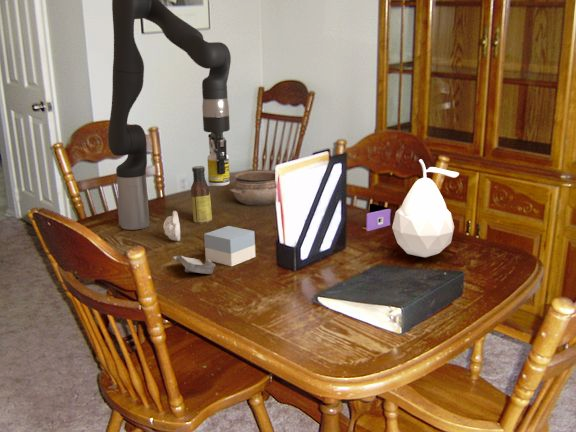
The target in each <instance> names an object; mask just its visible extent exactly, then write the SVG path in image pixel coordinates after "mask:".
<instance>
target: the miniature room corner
mask: <svg viewBox="0 0 576 432" xmlns="http://www.w3.org/2000/svg"><path fill="white" fill-rule="evenodd" d="M368 209H369V210H368V211H369V212H368V213H366V223H365V224H366V225H365V226H366V227H362V229H363V230H366V232H369V231H370V232H371V231H374V230H378V229H381V228H385V227H388V226H391V225H392V208H390V207H386V206H383V205H380V204H375V203H370V204H369V207H368Z"/></svg>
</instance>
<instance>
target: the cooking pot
mask: <svg viewBox="0 0 576 432" xmlns="http://www.w3.org/2000/svg"><path fill="white" fill-rule="evenodd" d="M234 177H235V178H236V179H235V181H234V185H233V188H229V190H228V191H229V192H232V193H233V195H234V197H235V199H236V200H237V202H239V203H241V204H242V205H246V206H253V207H254V206H255V207H263V206H270V205H274V204H276V203H275V170H249V171H241V172H238V173H236V174H235V175H234Z"/></svg>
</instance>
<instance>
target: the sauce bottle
mask: <svg viewBox="0 0 576 432" xmlns="http://www.w3.org/2000/svg"><path fill="white" fill-rule="evenodd" d="M191 171H192V175H193V176H192V177H193V179H192V180H193V182H192V185H191V187H190V192H191V205H192V207H191V208H192V216H193V217H192V218H193V222H194V223H195V224H198V225H201V224H209V223H211V222H212V221H213V214H212V213H213V212H212V203H211V201H212V200H211V190H210V187H209V184H208V183H207V179H206V176H205V171H206V170H205V166H203V165H196V166H192V167H191Z"/></svg>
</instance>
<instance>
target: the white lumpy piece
mask: <svg viewBox="0 0 576 432" xmlns="http://www.w3.org/2000/svg"><path fill="white" fill-rule="evenodd" d="M163 230H164V235H165V236H167V237H168V238H169V239H170V240H171V241H175V242H180V241H181V224H180V220H179V214H178V211H177V210H172V215H170V216H167V217H166V219H165V220H164V223H163Z"/></svg>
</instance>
